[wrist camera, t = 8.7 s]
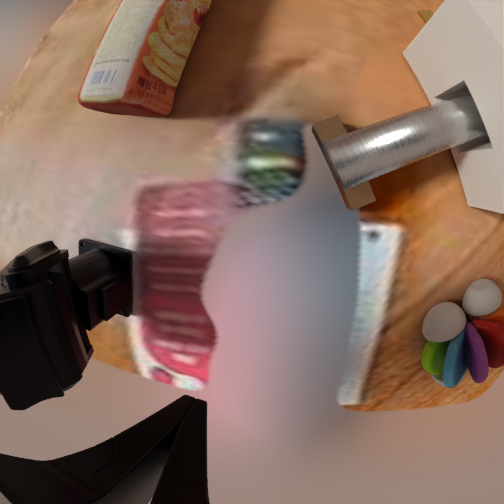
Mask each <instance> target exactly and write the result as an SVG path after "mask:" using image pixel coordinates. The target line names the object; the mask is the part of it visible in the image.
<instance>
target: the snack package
mask: <svg viewBox="0 0 504 504" xmlns="http://www.w3.org/2000/svg"><path fill="white" fill-rule="evenodd" d="M211 2H212V0H121V2H120V4H119V6H118V8H117V10H116V12H115V13H114V15H113V17H112V19H111V21H110V23H109V25H108V27H107V29H106V31H105V33H104V35H103V37H102V39H101V41H100V43H99V45H98V47H97V49H96V52H95V54H94V56H93V59H92V61H91V64H90V66H89V68H88V71H87V73H86V76H85V79H84V81H83V84H82V86H81V89H80V92H79V95H78V101H79V103H80V104H81V105H82V106H83V107H85V108H88V109H91V110H95V111H100V112H105V113H109V114H118V115H133V116H145V117H163V116H166V115H168V114H169V113H170V111H171V109H172V107H173V99H174V95H175V91H176V88H177V86H178V83H179V80H180V77H181V74H182V71H183V69H184V66H185V64H186V61H187V58H188V56H189V54H190V51H191V49H192V46H193V44H194V42H195V39H196V37H197V34H198V32H199V30H200V28H201V25H202V23H203V20H204V17H205V15H206V13H207V11H208V9H209V7H210V5H211Z"/></svg>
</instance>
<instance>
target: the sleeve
mask: <svg viewBox="0 0 504 504" xmlns="http://www.w3.org/2000/svg"><path fill="white" fill-rule="evenodd" d="M402 54H403V55H404V57H405V58H406V60H407V62H408V63H409V65H410V67H411V68H412V70H413V72H414V73H415V75H416V77H417V79H418V80H419V82H420V84H421V86H422V88H423V89H424V91H425V93H426V95H427V97H428V99H429V101H430V103H431V105H432V104H436V103H439V102H443V101H446V100H450V99H454V98H457V97H461V96H465V95H469V94H471V95H472V97H473V99H474V102H475V104H476V106H477V108H478V111H479V113H480V115H481V118H482V120H483V123H484V125H485V128H486V130H487V133H488V134H487V135H484V136H482V137H479V138H476V139H474V140H471V141H468V142H466V143H463V144H460V145H458V146H455V147H452V148H450V149H451V152H452V155H453V157H454V160H455V163H456V166H457V169H458V172H459V175H460V179H461V182H462V185H463V189H464V192H465V196H466V200H467V203H468V206H471V207H476V208H480V209H485V210H489V211H494V212H498V213H502V214H504V0H445V1H444V2H443V3H442V5H441V6H440V7H439V8H438V10H437V11H436V12H435V13H434V14H433V16H432V17H431V18H430V19H429V21H428V22H427V23H426V24H425V26H424V27H423V28H422V29H421V31H420V32H419V33H418V34H417V36H416V37H415V38H414V39H413V41H412V42H411V43H410V44H409V46H408V47H407V48H406V49H405V51H404V52H403V53H402Z"/></svg>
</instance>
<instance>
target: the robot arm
mask: <svg viewBox="0 0 504 504" xmlns="http://www.w3.org/2000/svg"><path fill="white" fill-rule="evenodd" d="M83 244H84V245H83ZM125 254H126V255H127V258H126V257H125ZM68 257H69V254H68V250H60V249H58V247H56V246H55V244H54V243H53V241H46V242H43V243H40V244H37V245H34V246H32V247H30V248H28V249H26V250H25V251H23V252H22V253H20V254H19V255H17V256H16V257H15V258H14V259H13V260H12V261H11V262H10V263H9V264H8V265H7V266H6V267H5V268H4V269H3V270H1V271H0V394H1V395H2V396H3V397H4V399H5V401H6V403H7V404H8V406H9V407H10V409H12V410H25V409H27V408H29V407H31V406H33V405H34V404H36V403H38V402H41V401H43V400H46V399H50V398H55V397H62V396H64V392H63V391H66V390H68V389H70V388H72V387H73V386H74V385H75V384H76V383H77V382H79V381H80V380H81V378H82V373H83V371H84V369H85V367H86V365H87V363H88V361H89V359H90V358H91V356H92V354H93V352H94V350H93V347H92V345H91V344H90V341H89V338H88V335H87V332H86V329H87V330H89V331H91V330H92V329H93V328H94V327H96V326H97V325H98V324H100V323H101V322H102V321H108V320H109V319H110V318H112V317H113V316H114V315H116V314H120V315H122V316H125V317H129V316H130V315H131V314H132V301H133V300H132V254H131V252H130V251H128V250H124V249H120V248H117V247H113V246H109V245H105V244H102V243H98V242H94V241H91V240H87V239H81V240H79V255H78V256H76V257H73V258H71V259H68ZM126 311H127V312H128V313H127V312H126ZM207 484H208V480H207V402H206V401H204V400H201V399H195V398H194V397H191V396H188V395H184V396H182V397H180V398H179V399H177V400H176V401H174V402H172V403H171V404H169V405H168V406H166V407H164V408H163V409H161V410H159V411H158V412H156V413H154V414H153V415H151V416H149V417H148V418H146V419H145V420H143V421H141V422H139V423H138V424H136V425H134V426H132V427H130V428H128V429H127V430H125V431H123V432H121V433H119V434H118V435H116V436H114V438H113V437H112V438H110V439H108V440H106V441H104V442H102V443H100V444H98V445H96V446H94V447H91V448H88V449H86V450H83V451H80V452H77V453H74V454H71V455H68V456H64V457H61V458H57V459H54V460H48V461H38V460H31V459H25V458H19V457H14V456H9V455H5V454H1V453H0V504H148V503H149V501H150V500H151V498H152V500H151V503H150V504H210V503H209V497H208V485H207ZM152 496H153V497H152Z"/></svg>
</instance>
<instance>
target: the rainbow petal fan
mask: <svg viewBox="0 0 504 504" xmlns="http://www.w3.org/2000/svg"><path fill="white" fill-rule="evenodd" d="M462 307H463V310H464V311H465V312H466V313H467V314H468V323H467V324H466V316H465V313H464V312H463V310H462V309H461V308H460V307H459V306H458V305H457V304H455V303H452V302H442V303H439V304H436V305H435V306H433V307H432V308H431V309H430V310H429V311H428V313H427V314H426V316H425V318H424V321H423V325H422V333H423V336H424V337H425V338H426V339H427V340H428V341H427V343H426V345H425V347H424V349H423V352H422V355H421V363H422V366H423V368H424V369H425V370H426V371H427V372H428V373H430V374H431V375H432V378H433V380H434V381H435V382H436V383H437V384H438V385H440V386H442V387H448V388H453V387H455V386H456V385H457V384H458V383H460V382H461V381H462V380H463V379H464V378H465V376H466V375H467V373H468V371H469V372H470V374H471V376H472V379H473V380H474V381H475V382H476V383H481V382H483V381H485V380H486V378H487V376H488V371H489V367H491V368H498V367H501V366H503V365H504V307H503V305H502V293H501V290H500V288H499V287H498V285H497V284H496V283H495V282H494V281H492V280H490V279H485V278H484V279H478V280H476V281H474V282H473V283H471V284H470V285H469V287H468V288H467V289H466V291H465V293H464V296H463V301H462ZM488 366H489V367H488Z"/></svg>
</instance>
